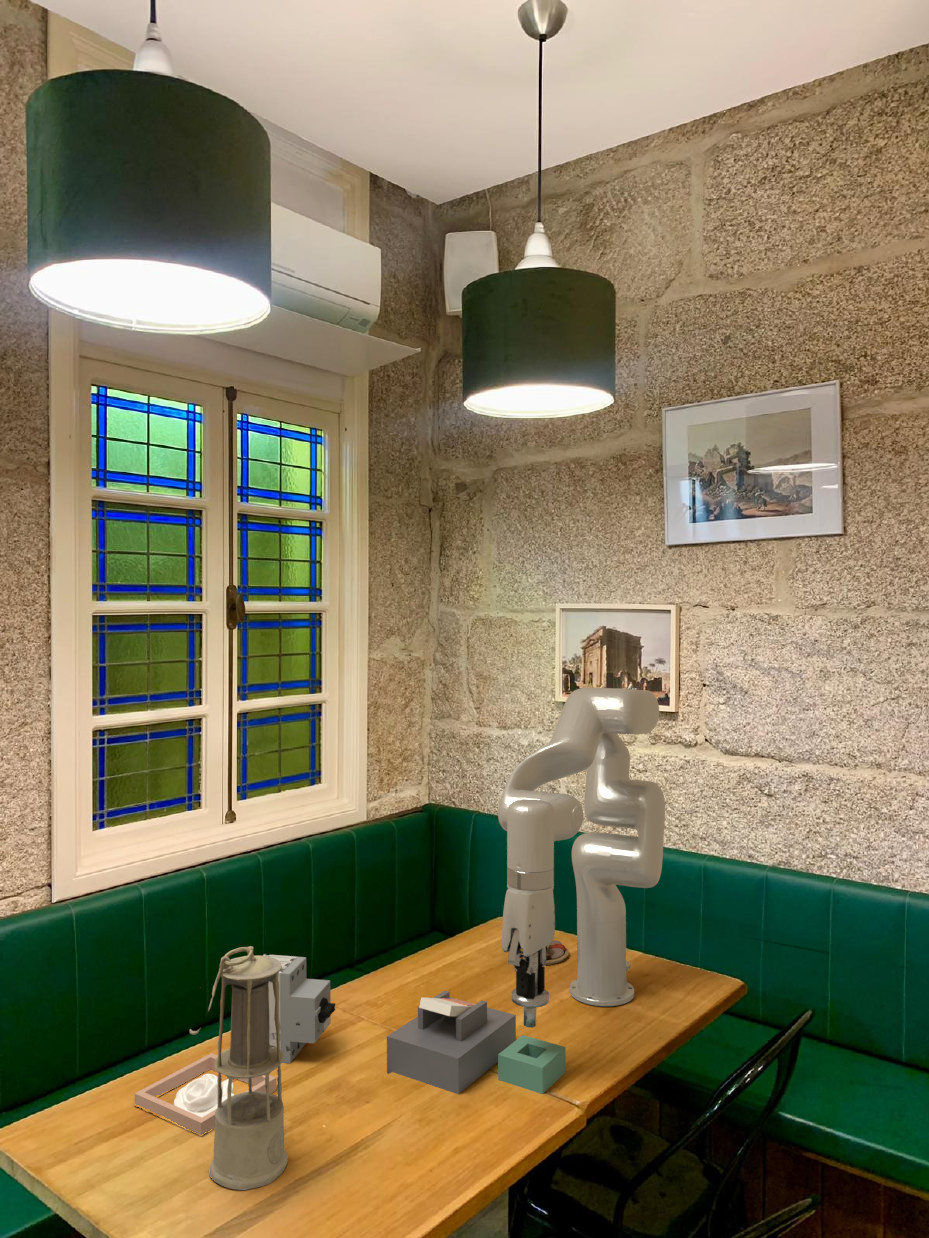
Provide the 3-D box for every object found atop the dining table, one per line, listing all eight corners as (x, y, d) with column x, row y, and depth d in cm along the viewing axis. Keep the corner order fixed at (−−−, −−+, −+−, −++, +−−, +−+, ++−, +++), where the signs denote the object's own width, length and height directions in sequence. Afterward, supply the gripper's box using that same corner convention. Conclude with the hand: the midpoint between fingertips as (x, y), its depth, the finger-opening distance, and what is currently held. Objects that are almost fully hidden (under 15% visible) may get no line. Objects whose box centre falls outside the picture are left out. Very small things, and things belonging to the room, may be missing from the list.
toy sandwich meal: (579, 962, 193) (579, 940, 193) (523, 972, 188) (523, 949, 188) (551, 943, 205) (551, 922, 205) (498, 951, 200) (498, 930, 200)
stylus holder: (522, 1061, 149) (522, 1034, 149) (565, 1074, 145) (565, 1046, 145) (498, 1082, 143) (498, 1054, 143) (542, 1096, 138) (542, 1067, 138)
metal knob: (522, 1013, 147) (523, 940, 148) (555, 1022, 144) (555, 947, 144) (504, 1026, 142) (505, 951, 143) (537, 1036, 139) (538, 959, 139)
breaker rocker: (453, 1009, 155) (455, 998, 156) (483, 1017, 152) (485, 1006, 153) (419, 1007, 147) (421, 996, 147) (449, 1016, 144) (451, 1004, 144)
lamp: (300, 1170, 120) (298, 948, 120) (205, 1208, 112) (204, 971, 112) (269, 1135, 128) (267, 927, 128) (178, 1168, 121) (177, 947, 121)
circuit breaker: (324, 1066, 148) (324, 976, 148) (244, 1059, 151) (244, 970, 151) (340, 1045, 155) (339, 959, 155) (263, 1038, 158) (262, 954, 158)
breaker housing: (448, 1029, 161) (448, 977, 161) (515, 1049, 153) (515, 994, 153) (386, 1072, 146) (386, 1014, 146) (458, 1097, 138) (458, 1035, 138)
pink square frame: (211, 1064, 149) (211, 1052, 149) (276, 1089, 141) (276, 1077, 141) (134, 1106, 136) (134, 1093, 136) (201, 1136, 128) (201, 1122, 128)
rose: (251, 1069, 139) (212, 1100, 130) (251, 1097, 139) (212, 1131, 130) (198, 1058, 143) (156, 1088, 134) (198, 1086, 143) (157, 1117, 134)
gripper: (533, 864, 152) (533, 972, 152) (484, 886, 139) (484, 1005, 139) (573, 870, 148) (573, 982, 148) (526, 893, 135) (526, 1016, 135)
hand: (530, 992), depth 143 cm, fingers closed on metal knob
